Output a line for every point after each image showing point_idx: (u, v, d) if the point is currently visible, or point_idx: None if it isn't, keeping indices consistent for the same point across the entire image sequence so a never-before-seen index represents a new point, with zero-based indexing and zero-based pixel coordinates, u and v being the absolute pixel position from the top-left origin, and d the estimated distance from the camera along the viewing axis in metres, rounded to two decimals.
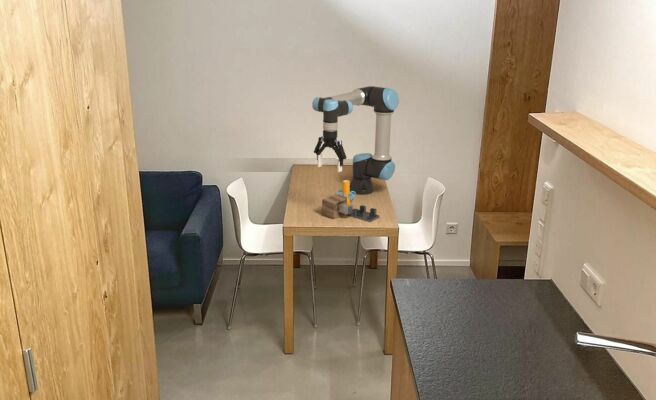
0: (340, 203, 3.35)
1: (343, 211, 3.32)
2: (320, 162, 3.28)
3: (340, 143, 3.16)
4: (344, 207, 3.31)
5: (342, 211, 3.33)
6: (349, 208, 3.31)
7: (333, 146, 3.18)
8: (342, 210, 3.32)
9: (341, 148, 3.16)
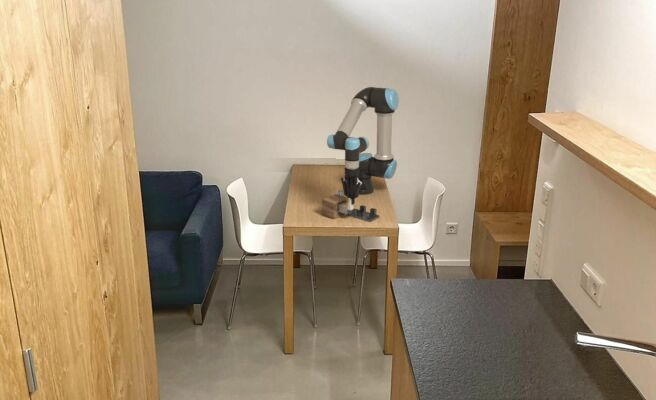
0: (339, 203, 3.35)
1: (342, 211, 3.33)
2: None
3: (360, 184, 3.23)
4: (343, 207, 3.31)
5: (341, 211, 3.33)
6: None
7: (352, 185, 3.25)
8: (342, 210, 3.33)
9: (358, 189, 3.24)
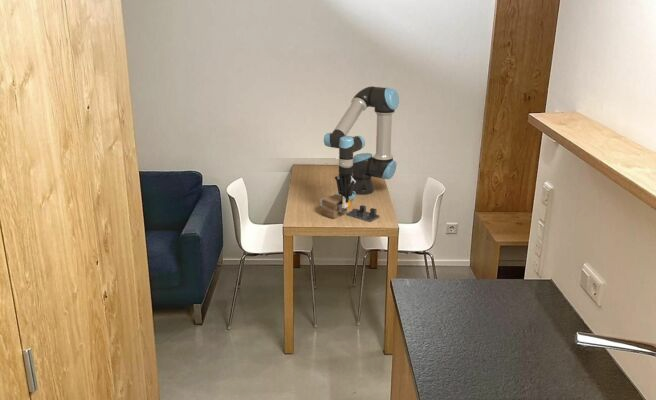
0: None
1: (337, 209, 3.35)
2: None
3: (354, 183, 3.25)
4: (338, 205, 3.34)
5: None
6: None
7: (346, 183, 3.27)
8: None
9: (352, 187, 3.26)
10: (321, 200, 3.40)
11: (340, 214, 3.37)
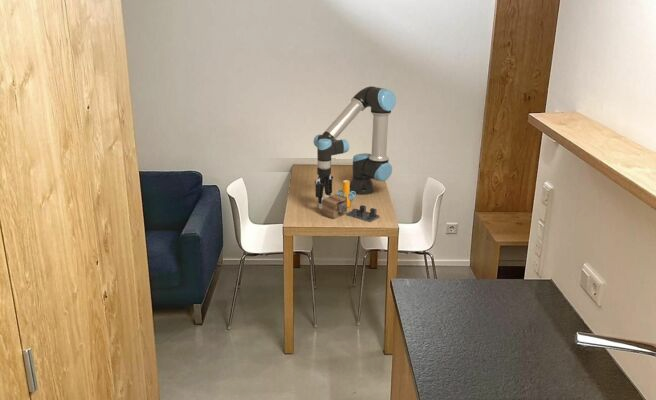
0: None
1: (337, 209, 3.35)
2: None
3: (316, 183, 3.34)
4: (338, 205, 3.34)
5: None
6: (343, 206, 3.33)
7: None
8: None
9: (316, 187, 3.35)
10: None
11: (340, 214, 3.37)
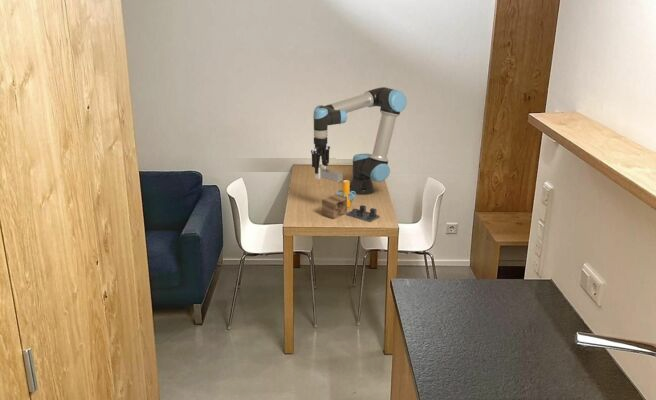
0: (330, 171, 3.36)
1: (333, 179, 3.34)
2: None
3: (312, 153, 3.33)
4: (334, 175, 3.32)
5: (332, 179, 3.34)
6: (339, 176, 3.32)
7: (315, 153, 3.37)
8: (332, 178, 3.34)
9: (313, 157, 3.34)
10: None
11: (340, 214, 3.37)
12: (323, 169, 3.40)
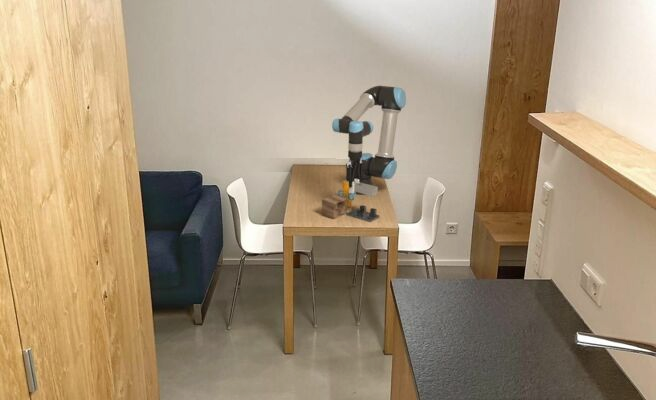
0: (365, 185, 3.31)
1: (368, 193, 3.28)
2: None
3: (347, 166, 3.27)
4: (369, 189, 3.27)
5: (367, 193, 3.29)
6: (374, 190, 3.27)
7: None
8: (367, 192, 3.28)
9: (347, 171, 3.29)
10: None
11: (340, 214, 3.37)
12: (357, 183, 3.34)
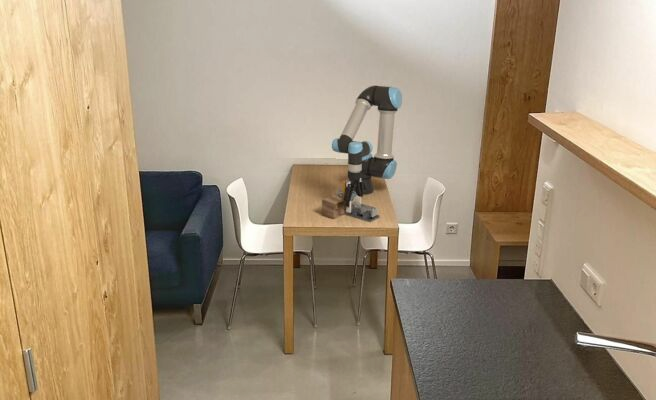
0: (364, 206, 3.35)
1: None
2: None
3: (346, 186, 3.31)
4: (368, 210, 3.31)
5: None
6: (373, 211, 3.31)
7: None
8: None
9: (346, 190, 3.32)
10: (351, 205, 3.38)
11: (340, 214, 3.37)
12: (357, 204, 3.38)
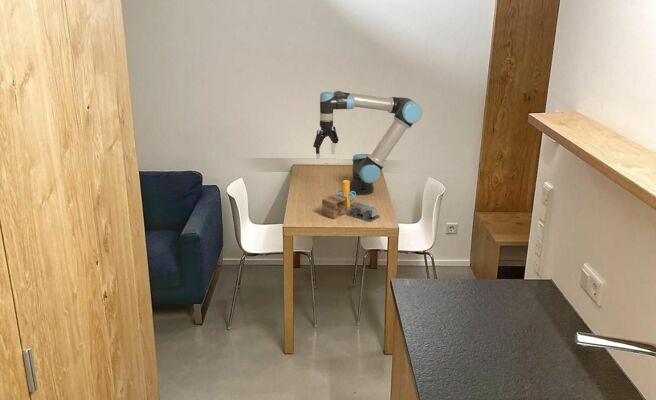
0: (364, 206, 3.35)
1: None
2: (333, 150, 3.57)
3: (318, 132, 3.42)
4: (368, 210, 3.31)
5: None
6: (373, 211, 3.31)
7: (320, 134, 3.46)
8: None
9: (317, 137, 3.43)
10: (351, 205, 3.38)
11: (340, 214, 3.37)
12: (357, 204, 3.38)
